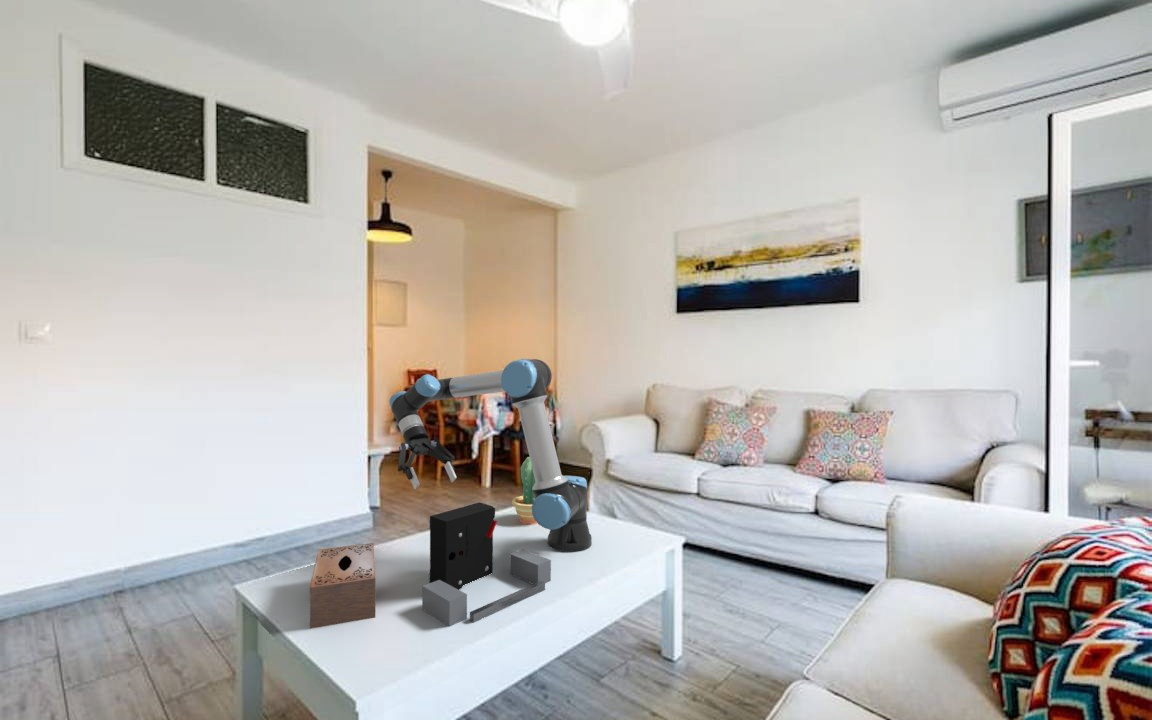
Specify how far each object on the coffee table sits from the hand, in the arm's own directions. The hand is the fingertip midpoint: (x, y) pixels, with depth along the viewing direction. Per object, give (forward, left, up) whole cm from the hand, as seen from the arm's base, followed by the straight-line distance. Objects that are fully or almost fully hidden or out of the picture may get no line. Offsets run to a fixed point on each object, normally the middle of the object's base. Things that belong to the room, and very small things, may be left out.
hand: (436, 483), depth 169 cm
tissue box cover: (+34, +10, -23) cm, 42 cm away
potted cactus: (-44, -2, -23) cm, 50 cm away
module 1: (+20, +36, -23) cm, 47 cm away
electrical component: (+6, +23, -23) cm, 33 cm away
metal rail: (+6, +44, -23) cm, 50 cm away
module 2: (-9, +36, -23) cm, 43 cm away
